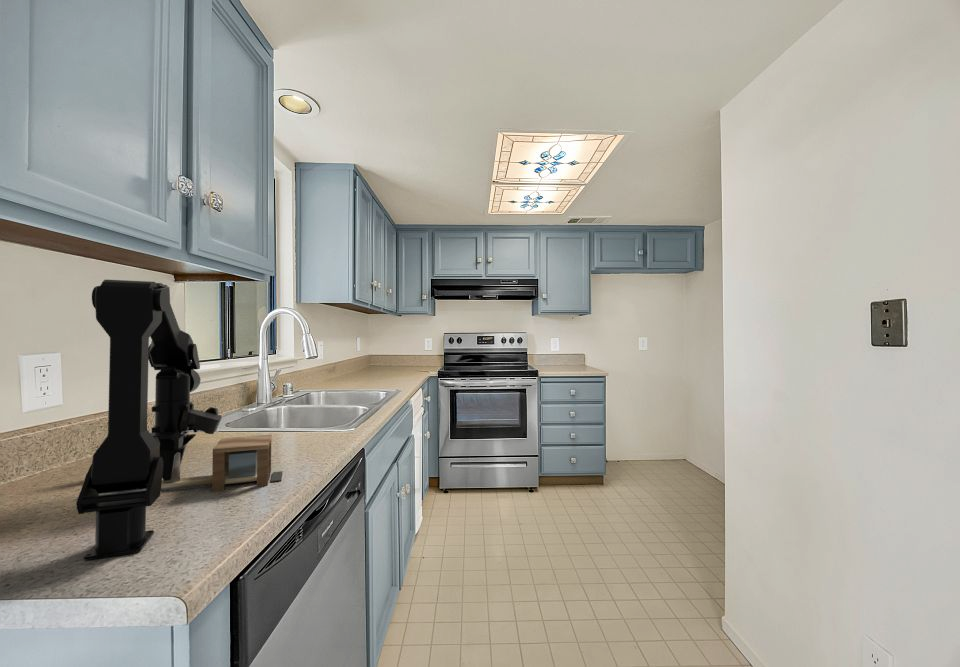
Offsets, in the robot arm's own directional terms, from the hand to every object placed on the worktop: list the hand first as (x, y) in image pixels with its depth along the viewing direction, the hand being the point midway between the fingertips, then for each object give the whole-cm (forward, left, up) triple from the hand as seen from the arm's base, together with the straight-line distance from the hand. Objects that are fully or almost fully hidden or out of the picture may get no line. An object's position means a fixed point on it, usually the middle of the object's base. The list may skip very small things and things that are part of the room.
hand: (171, 475), depth 87 cm
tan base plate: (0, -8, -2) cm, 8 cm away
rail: (0, -2, -3) cm, 3 cm away
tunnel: (0, -13, -3) cm, 13 cm away
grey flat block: (0, -19, -3) cm, 20 cm away
